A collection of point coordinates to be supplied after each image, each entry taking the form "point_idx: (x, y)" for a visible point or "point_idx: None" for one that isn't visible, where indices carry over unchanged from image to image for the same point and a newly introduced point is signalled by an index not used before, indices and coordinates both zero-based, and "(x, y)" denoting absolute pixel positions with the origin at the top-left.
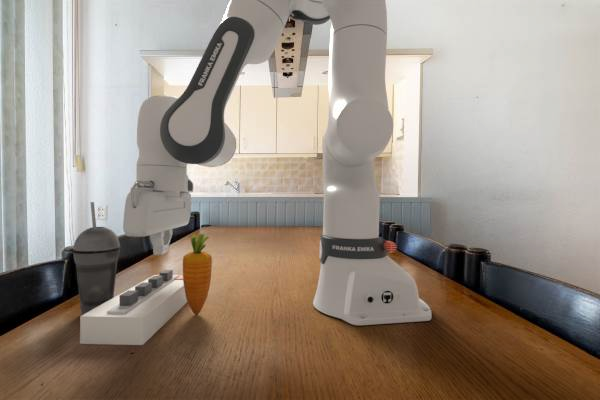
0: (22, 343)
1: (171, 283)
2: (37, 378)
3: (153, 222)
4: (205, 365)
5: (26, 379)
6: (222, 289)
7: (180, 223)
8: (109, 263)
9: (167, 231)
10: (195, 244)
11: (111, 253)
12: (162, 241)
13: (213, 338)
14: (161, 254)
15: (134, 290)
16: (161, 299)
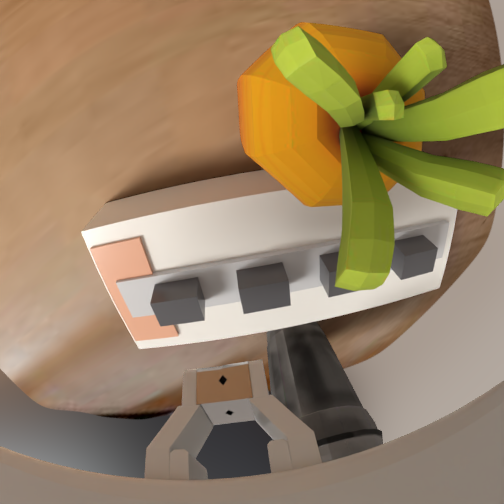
0: (399, 325)
1: (198, 257)
2: (475, 236)
3: (493, 454)
4: (460, 28)
5: (474, 245)
6: (41, 148)
7: (71, 486)
8: (340, 404)
9: (192, 471)
10: (373, 166)
11: (350, 426)
12: (282, 414)
13: (388, 21)
14: (261, 360)
15: (292, 310)
16: None
